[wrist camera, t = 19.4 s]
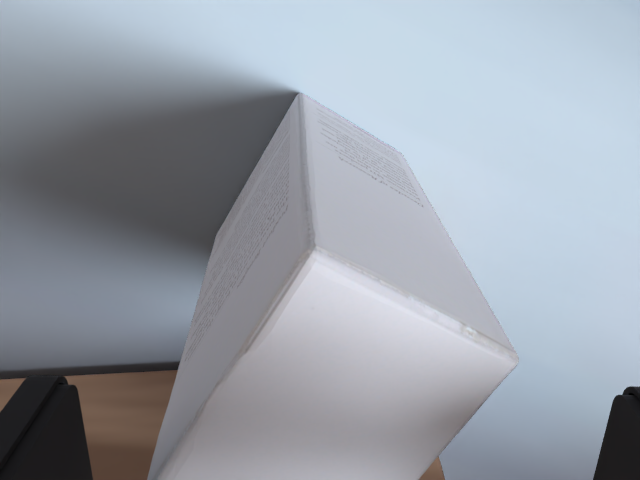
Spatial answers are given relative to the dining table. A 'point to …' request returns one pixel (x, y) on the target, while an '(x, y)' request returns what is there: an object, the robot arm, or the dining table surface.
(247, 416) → the skincare box
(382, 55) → the dining table surface
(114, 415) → the door
